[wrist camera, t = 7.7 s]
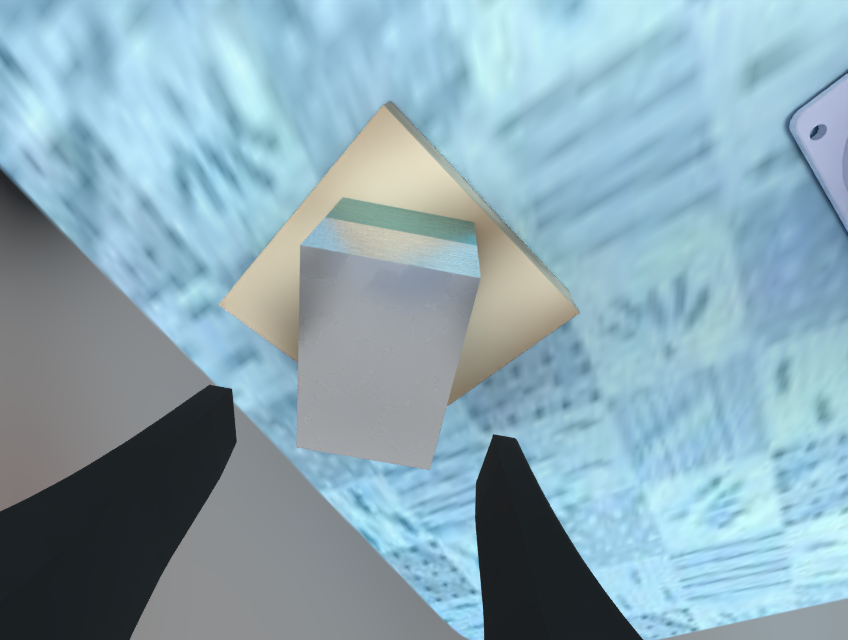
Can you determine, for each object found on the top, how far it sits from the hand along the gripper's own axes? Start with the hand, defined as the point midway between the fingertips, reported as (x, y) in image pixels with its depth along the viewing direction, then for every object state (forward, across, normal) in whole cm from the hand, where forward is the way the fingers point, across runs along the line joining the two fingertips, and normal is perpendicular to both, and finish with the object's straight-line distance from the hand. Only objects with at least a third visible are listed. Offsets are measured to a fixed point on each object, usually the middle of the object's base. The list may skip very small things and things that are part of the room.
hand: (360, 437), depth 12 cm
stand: (+9, 0, 0) cm, 9 cm away
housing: (+7, 0, 0) cm, 7 cm away
